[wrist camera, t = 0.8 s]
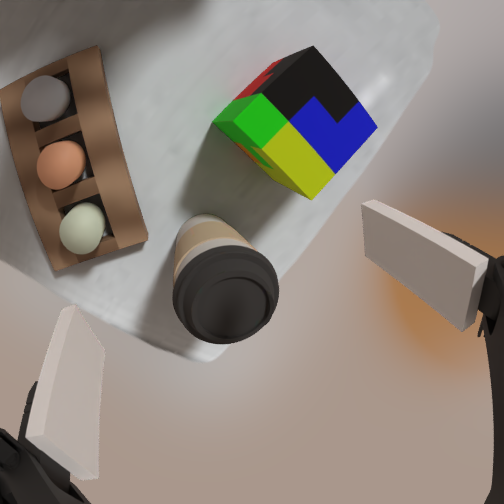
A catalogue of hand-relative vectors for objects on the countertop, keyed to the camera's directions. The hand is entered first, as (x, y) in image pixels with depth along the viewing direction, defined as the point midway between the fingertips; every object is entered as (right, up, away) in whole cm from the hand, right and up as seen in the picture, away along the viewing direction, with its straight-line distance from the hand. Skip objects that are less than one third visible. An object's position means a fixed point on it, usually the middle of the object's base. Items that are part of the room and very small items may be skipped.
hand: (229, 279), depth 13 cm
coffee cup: (-5, +2, +24) cm, 25 cm away
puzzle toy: (+3, +16, +21) cm, 27 cm away
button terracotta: (-18, +10, +14) cm, 25 cm away
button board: (-19, +11, +16) cm, 27 cm away
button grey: (-19, +17, +11) cm, 28 cm away
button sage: (-17, +4, +17) cm, 25 cm away
